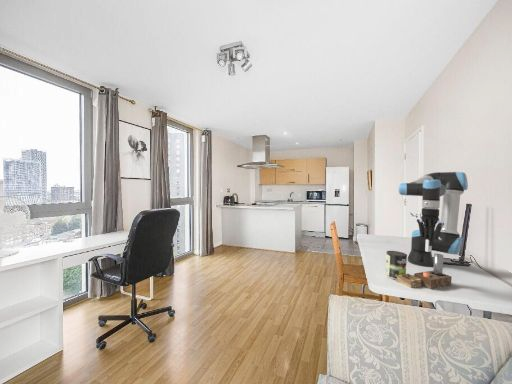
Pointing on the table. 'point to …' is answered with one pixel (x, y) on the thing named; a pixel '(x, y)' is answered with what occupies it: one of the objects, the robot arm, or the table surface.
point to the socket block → (434, 280)
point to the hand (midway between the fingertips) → (428, 251)
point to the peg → (438, 264)
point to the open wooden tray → (409, 280)
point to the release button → (426, 274)
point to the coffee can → (395, 264)
